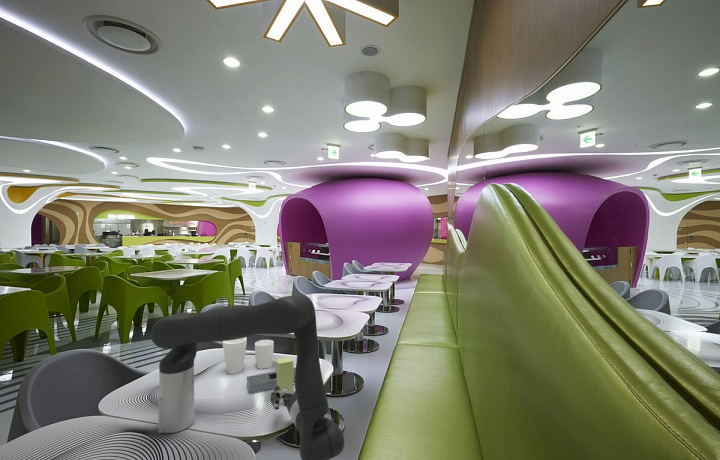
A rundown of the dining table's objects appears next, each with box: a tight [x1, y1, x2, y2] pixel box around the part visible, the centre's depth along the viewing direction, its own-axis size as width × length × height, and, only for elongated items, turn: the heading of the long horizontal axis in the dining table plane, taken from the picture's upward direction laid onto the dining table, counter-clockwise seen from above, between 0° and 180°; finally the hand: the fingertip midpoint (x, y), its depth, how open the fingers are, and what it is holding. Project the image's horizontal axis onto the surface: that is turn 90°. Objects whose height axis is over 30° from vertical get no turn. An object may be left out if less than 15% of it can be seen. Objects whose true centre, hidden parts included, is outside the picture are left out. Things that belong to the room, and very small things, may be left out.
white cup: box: [254, 339, 275, 369], centre depth 144 cm, size 8×8×10 cm
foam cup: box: [222, 337, 248, 375], centre depth 138 cm, size 10×9×13 cm
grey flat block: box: [246, 367, 296, 395], centre depth 127 cm, size 22×8×3 cm, turn 115°
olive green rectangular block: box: [275, 356, 294, 397], centre depth 116 cm, size 5×4×13 cm
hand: (290, 385), depth 109 cm, fingers open, 8 cm apart
